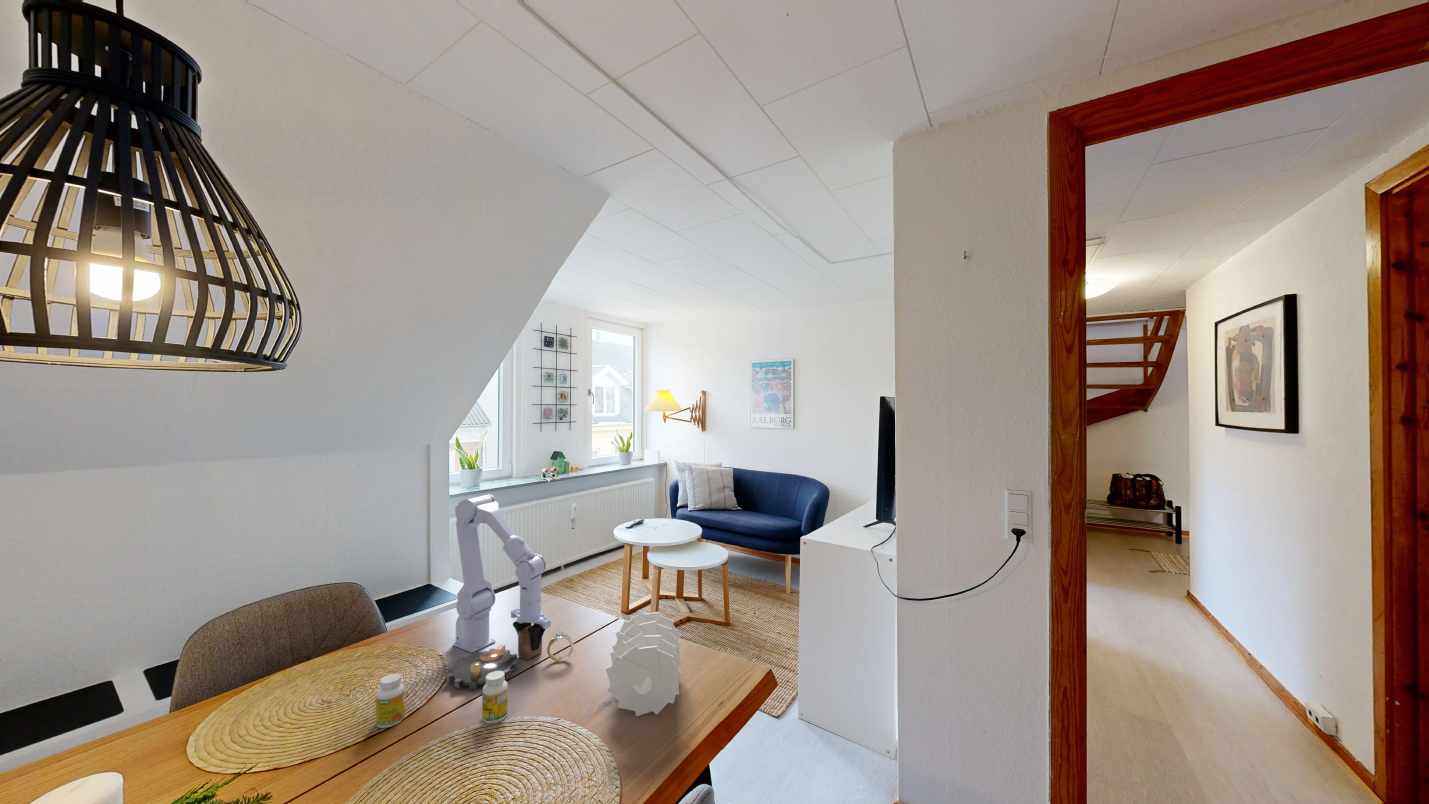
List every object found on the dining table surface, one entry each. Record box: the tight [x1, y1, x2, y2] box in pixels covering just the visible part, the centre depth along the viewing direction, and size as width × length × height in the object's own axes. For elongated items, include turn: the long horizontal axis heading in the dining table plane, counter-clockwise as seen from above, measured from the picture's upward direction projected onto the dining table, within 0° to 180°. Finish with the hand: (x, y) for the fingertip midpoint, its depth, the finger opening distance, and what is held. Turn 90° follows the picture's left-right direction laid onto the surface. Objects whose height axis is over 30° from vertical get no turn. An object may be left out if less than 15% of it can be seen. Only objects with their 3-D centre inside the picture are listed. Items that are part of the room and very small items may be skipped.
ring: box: [546, 630, 575, 663], centre depth 138 cm, size 7×3×8 cm, turn 98°
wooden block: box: [517, 624, 543, 661], centre depth 142 cm, size 4×5×7 cm
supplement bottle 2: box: [481, 671, 509, 724], centre depth 114 cm, size 5×5×10 cm
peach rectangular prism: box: [495, 644, 506, 651], centre depth 142 cm, size 3×1×2 cm, turn 0°
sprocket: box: [446, 648, 519, 690], centre depth 132 cm, size 17×17×5 cm
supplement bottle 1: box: [375, 673, 405, 729], centre depth 112 cm, size 5×5×10 cm
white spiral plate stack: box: [605, 611, 683, 717], centre depth 123 cm, size 18×18×25 cm
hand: (530, 647), depth 142 cm, fingers closed on wooden block, 4 cm apart
